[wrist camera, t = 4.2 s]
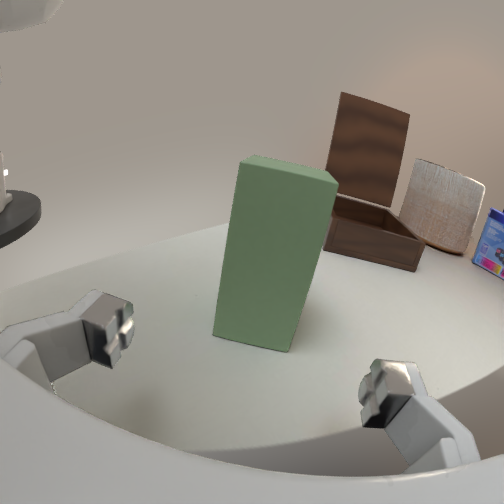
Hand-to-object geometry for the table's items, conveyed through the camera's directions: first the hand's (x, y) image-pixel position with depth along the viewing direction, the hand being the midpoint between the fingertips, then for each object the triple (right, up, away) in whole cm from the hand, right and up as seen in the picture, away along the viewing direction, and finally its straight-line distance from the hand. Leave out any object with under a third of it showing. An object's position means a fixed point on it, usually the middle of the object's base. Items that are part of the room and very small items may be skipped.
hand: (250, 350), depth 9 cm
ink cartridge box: (+50, -1, +37) cm, 62 cm away
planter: (+40, +6, +47) cm, 62 cm away
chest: (+17, +5, +35) cm, 39 cm away
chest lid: (+21, +21, +37) cm, 48 cm away
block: (0, -2, +12) cm, 12 cm away
